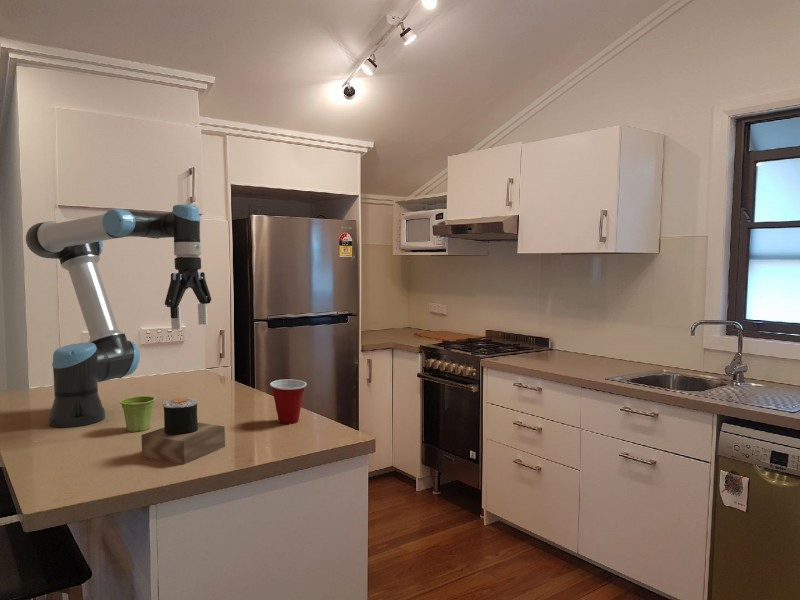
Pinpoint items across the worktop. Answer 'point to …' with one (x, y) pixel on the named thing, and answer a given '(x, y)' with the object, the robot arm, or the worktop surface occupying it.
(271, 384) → the plastic cup
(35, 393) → the worktop surface
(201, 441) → the walnut block
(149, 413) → the plant pot
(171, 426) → the sushi
